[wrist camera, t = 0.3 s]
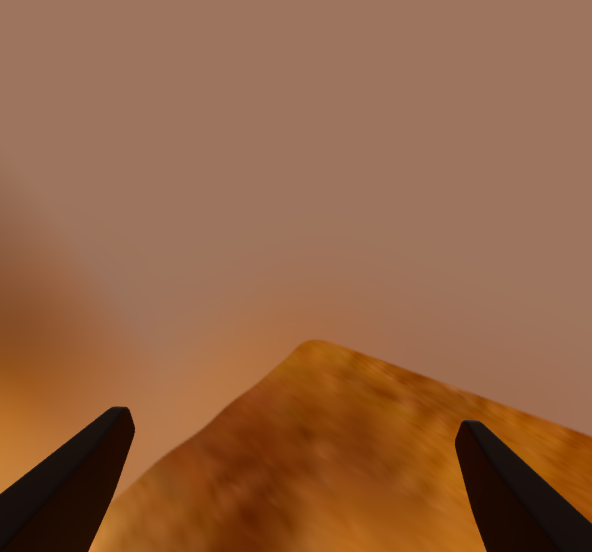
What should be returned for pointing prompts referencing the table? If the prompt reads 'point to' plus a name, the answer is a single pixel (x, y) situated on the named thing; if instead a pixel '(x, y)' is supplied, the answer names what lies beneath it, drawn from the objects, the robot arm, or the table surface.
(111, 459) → the robot arm
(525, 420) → the table surface
